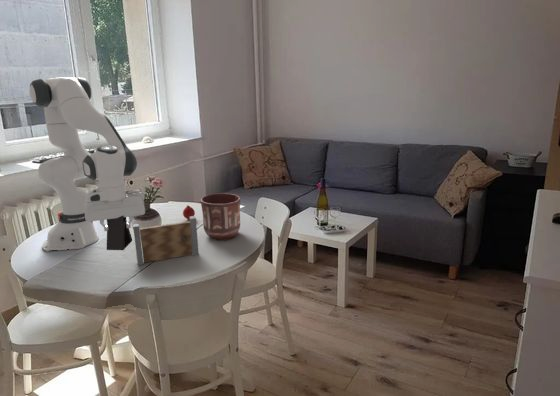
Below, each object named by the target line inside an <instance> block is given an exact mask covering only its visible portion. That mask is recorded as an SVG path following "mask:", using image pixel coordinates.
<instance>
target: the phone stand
mask: <svg viewBox="0 0 560 396" xmlns="http://www.w3.org/2000/svg"><path fill="white" fill-rule="evenodd" d="M126 224H127V217H124V215H123V216H121V217H119V218H115V219H106V225H107V226H108V230H107V231H106V251H125V249H126V248H127V247H128V246H129V245H130V244H131V243H132V242H133V237H132V234H131V231H130V228H127V227H126Z"/></svg>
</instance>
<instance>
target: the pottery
mask: <svg viewBox="0 0 560 396" xmlns="http://www.w3.org/2000/svg"><path fill="white" fill-rule="evenodd" d="M200 205H201V211H202V223H203V224H202V225H203V230H204V233H205V234H206V235H207V236H208V237H209V238H210V239H212V240H214V241H226V240H230V239H233V238H234V237H235V236H237V234H238V232H239V231H240V229H241V196H239V195H237V194H234V193H229V192H228V193H225V192H222V193H221V192H220V193H219V192H217V193H211V194H207V195H204V196H202V197H201V198H200Z"/></svg>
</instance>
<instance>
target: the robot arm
mask: <svg viewBox="0 0 560 396" xmlns="http://www.w3.org/2000/svg"><path fill="white" fill-rule="evenodd" d="M28 93H29V96H30V98H31V101H32V102H33V104H34V105H36V106H37V107H40V108H44V119H45V124H46V131H47V134H48V140H49V142H50V143H51V145H53V146H54V147H56V148H60V149H61V150H62V152H63V154H64V156H60V157H53V158H50V159H47V160H45V161H43V162H41V163H40V164H39V166H38V168H37V169H38V170H37V172H38V177H39V179H40V180H41V182H42V183H44V184H45V185H47V186H50V187H51V188H52V189H53V190H54V191H55V192H56V194H57V195H58V198H59V201H60V202H59V203H60V206H61V211H58V213H57V218H58V222H57V223H56V224H55V225H54V226H53V227H51V228H50V229H49V231H48V232H47V238H46V240H45V241H44V242H43V243H42V250H43V249H44V250H46V251H45V252H50V251H49V250H58V251H65V250H66V251H67V249H69V250H77V249H78V250H79V249H84V248H85V247H87V246H89V245H91V244H94V243H96V242H97V241H98V240H99V235H98V233H97V232H96V229H95V224H94V222H97V221H99V224H100V225H101V226H102V227H103V230H104V232H107V230H108V226H107V224H106V223H105V221H107V219H115V218H119V217H121V216H123V215H124V217H126V218H128V222H127V224H126V227H127V228H129V229H131V228H132V227H131V224H132V221H133V220H134V217H138V216H144V215H145V213H146V208H145V203H144V201H145V192H144V191H143V190H140V189H136V190H127V186H126V185H127V184H126V180H125V178H124V177H129V176H131V175H133V173H134V172H135V171H136V169H137V167H138V162H137V161H138V160H137V158H136V156H135V154H134V152H133V151H131V149H130V148H129V147H128V146H127V145H126V143H125V141H124V140H123V138H122V137H121V135H120V134H119V132H118V131H117V130H116V127H115V126H114V124H113V123H112V122H111V121H110V118H108V117H107V115H105V114H103V113H102V112H100V111H98V110H97V108H95V106H94V105H93V103H92V101H91V99H92V88H91V85H90V83H89V81H88V80H87V79H86V78H84V77H79V76H76V77H70V76H69V77H66V76H64V77H63V76H60V77H51V78H45V79H43V78H39V79H34V80H32V81H31V83H30V85H29V91H28ZM78 130H81V131H88V132H92V133H95V134H98V135H100V136H101V137H103V138H104V139H105V140H106V142H107V145H101V146H98V147H97V148H95V150H94V152H89V151H88V150H87V149H86V148H85V147H84V145H83V143H82V142H81V139H80V136H79V132H78ZM86 178H88V179H90V180H92V181H98V187H97V188H95V189H92V190H90V191H88V192H87V191H86V190H84V189H83V188H80V187H77V185H76V181H77V180H82V179H86ZM44 250H43V251H44Z"/></svg>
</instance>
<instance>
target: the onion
mask: <svg viewBox="0 0 560 396" xmlns="http://www.w3.org/2000/svg"><path fill="white" fill-rule="evenodd" d="M195 214H196V211H195V210H194V208H193V207H191V206H190V205H189V204H186V207H185V208H184V209H183V210H182V216H183V217H184V219H186V220H187V221H190V216H195Z"/></svg>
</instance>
